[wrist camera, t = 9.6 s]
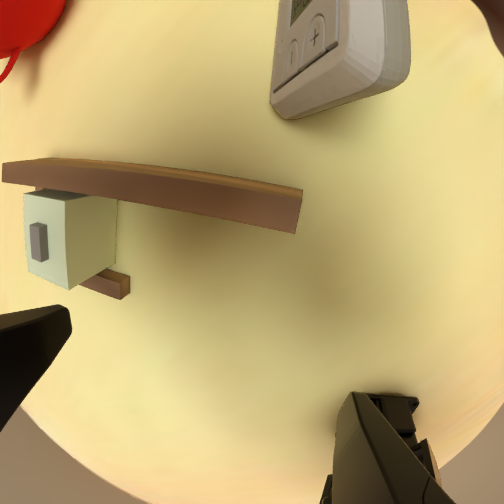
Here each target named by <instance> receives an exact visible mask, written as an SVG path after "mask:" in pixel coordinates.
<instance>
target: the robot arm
mask: <svg viewBox="0 0 504 504" xmlns="http://www.w3.org/2000/svg"><path fill="white" fill-rule="evenodd" d="M71 333H72V325H71V319H70V313H69V310H68V309H67V308H66V307H64V306H62V305H59V304H58V305H52V306H46V307H41V308H35V309H30V310H24V311H19V312H13V313H7V314H2V315H0V432H1V431H2V429H3V427H4V426H5V425H6V423H7V422H8V420H9V419H10V418H11V416H12V415H13V414H14V412H15V411H16V409H17V408H18V407H19V405H20V404H21V403H22V401H23V400H24V399H25V397H26V396H27V395H28V393H29V392H30V391H31V389H32V388H33V387H34V386H35V384H36V383H37V382H38V380H39V379H40V378H41V377H42V375H43V374H44V373H45V372H46V370H47V369H48V368H49V366H50V365H51V364H52V362H53V361H54V359H55V358H56V356H57V355H58V353H59V352H60V350H61V349H62V347H63V346H64V344H65V343H66V341H67V340H68V338H69V337H70V335H71ZM418 405H419V400H418V399H417V398H404V397H390V396H378V395H368V394H365V393H362V392H354V391H353V392H350V393H349V395H348V396H347V398H346V400H345V402H344V404H343V406H342V407H341V409H340V411H339V415H338V422H337V432H336V433H335V438H336V440H335V449H334V457H333V474H331V475H328V477H327V480H326V483H325V487H324V490H323V494H322V497H321V500H320V504H456V503H455V502H454V501H453V500H452V499H451V498H450V497H449V496H448V495H447V494H446V493H445V492H444V490H443V489H442V487H441V479H440V474H439V470H438V467H437V463H436V460H435V457H434V455H433V452H432V450H431V447H430V445H429V443H428V441H427V438H426V439H424V440H422V441H420V443H418V442H417V439H416V435H415V432H416V428H415V424H414V421H413V418H412V414H413V412H414V411H415V409H416V408H417V407H418Z"/></svg>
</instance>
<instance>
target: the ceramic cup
mask: <svg viewBox="0 0 504 504" xmlns="http://www.w3.org/2000/svg"><path fill="white" fill-rule="evenodd" d="M65 4H66V0H0V59H3V58H7V57H10V56H11V57H10V60H9V62H8V64H7V66H6V68H5V70H4V71H3V73H2V74H1V75H0V83H1V82H2V81H3V80H4V79H5V78H6V77H7V76H8V74H9V73H10V71H11V70H12V68H13V66H14V64H15V62H16V60H17V58H18V56H19V53H20V52H21V51H23V50H25V49H27V48H28V47H30V46H32V45H33V44H35V43H38V42H39V41H41V40H42V39H43V38H44V37H46V35H47V34H48V33H49V32H50V31H51V30H52V29H53V27H54V26H55V24H56V23H57V21H58V20H59V18H60V16H61V14H62V12H63V10H64V7H65Z"/></svg>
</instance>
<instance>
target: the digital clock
mask: <svg viewBox="0 0 504 504" xmlns="http://www.w3.org/2000/svg"><path fill="white" fill-rule="evenodd" d="M410 65H411V43H410V26H409V14H408V5H407V0H280V1H279V11H278V21H277V31H276V41H275V51H274V61H273V71H272V82H271V93H270V104H271V106H272V107H273V108H274V109H275V110H276V112H277V113H278V114H279V115H280V116H281V117H282V118H284V119H299V118H303V117H305V116H308V115H311V114H314V113H317V112H320V111H323V110H326V109H329V108H333V107H336V106H339V105H342V104H346V103H349V102H352V101H356V100H359V99H363V98H366V97H370V96H373V95H376V94H379V93H382V92H385V91H388V90H391V89H393V88H395V87H397V86H398V85H400V84H401V83H403V82H404V81H405V80H406V78H407V77H408V74H409V71H410Z"/></svg>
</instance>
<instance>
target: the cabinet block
mask: <svg viewBox="0 0 504 504" xmlns="http://www.w3.org/2000/svg"><path fill="white" fill-rule="evenodd" d="M117 205H118V200H117V199H111V198H105V197H99V196H93V195H87V194H81V193H75V192H68V191H62V190H55V189H44V190H39V191H34V192H29V193H24V232H25V246H26V257H27V266H28V272H30V273H32V274H34V275H36V276H39V277H41V278H43V279H45V280H47V281H49V282H51V283H54V284H56V285H58V286H60V287H62V288H65V289H67V290H70V289H72V288H73V287H75V286H77V285H78V284H80V283H82V282H83V281H85V280H87V279H89V278H90V277H92V276H94V275H95V274H97V273H99V272H101V271H102V270H104V269H106V268H108V267H109V266H111V265H113V264H115V263H116V223H117Z"/></svg>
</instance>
